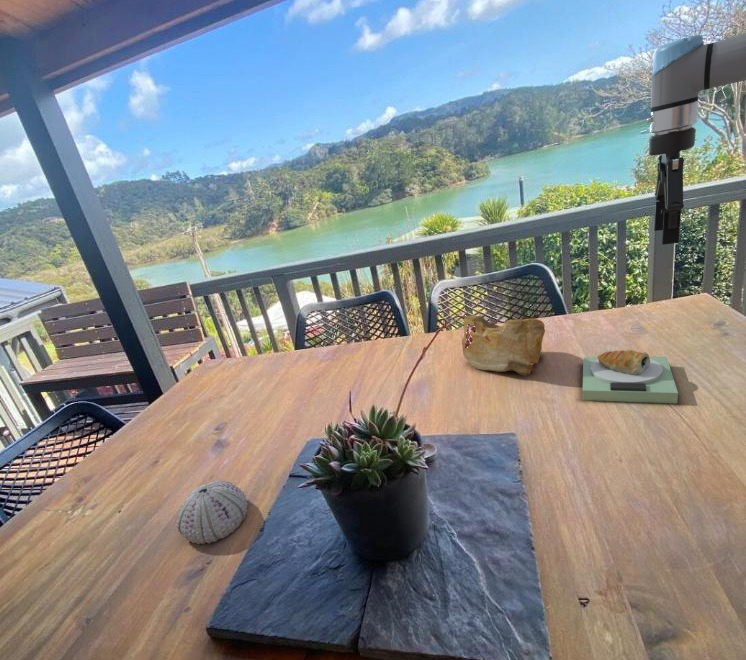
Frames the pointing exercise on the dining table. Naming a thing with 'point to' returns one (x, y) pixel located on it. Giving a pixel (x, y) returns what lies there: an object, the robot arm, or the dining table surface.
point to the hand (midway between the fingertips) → (665, 236)
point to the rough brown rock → (504, 344)
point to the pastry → (625, 361)
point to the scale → (629, 383)
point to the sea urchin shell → (211, 512)
